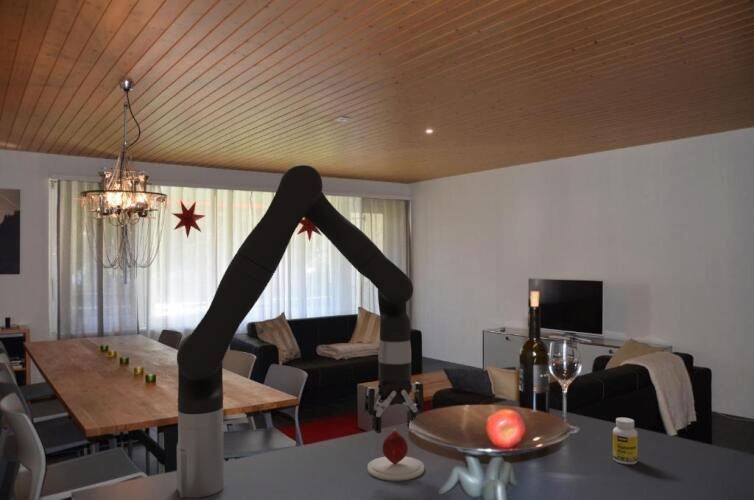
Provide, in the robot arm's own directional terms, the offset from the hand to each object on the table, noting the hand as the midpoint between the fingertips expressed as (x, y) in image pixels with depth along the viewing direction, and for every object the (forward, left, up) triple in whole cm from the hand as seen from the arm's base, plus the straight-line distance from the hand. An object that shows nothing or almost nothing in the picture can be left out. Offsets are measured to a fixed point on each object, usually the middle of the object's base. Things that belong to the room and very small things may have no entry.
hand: (394, 430), depth 135 cm
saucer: (0, 0, -9) cm, 9 cm away
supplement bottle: (+51, -20, -9) cm, 56 cm away
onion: (0, 0, -8) cm, 8 cm away
